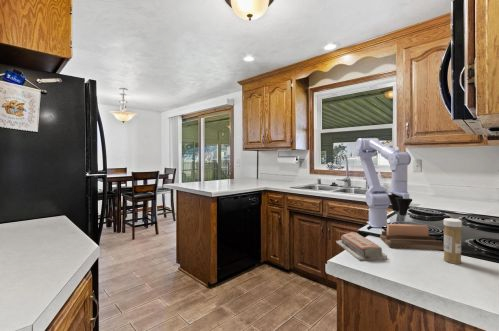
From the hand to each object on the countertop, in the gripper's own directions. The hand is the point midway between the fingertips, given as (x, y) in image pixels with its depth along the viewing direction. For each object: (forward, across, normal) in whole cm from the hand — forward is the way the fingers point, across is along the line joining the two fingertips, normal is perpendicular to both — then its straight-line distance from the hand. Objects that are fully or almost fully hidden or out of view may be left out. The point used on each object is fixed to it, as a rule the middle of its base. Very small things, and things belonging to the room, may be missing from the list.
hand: (399, 213), depth 107 cm
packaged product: (+10, +20, -20) cm, 30 cm away
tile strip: (+8, +8, 0) cm, 11 cm away
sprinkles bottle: (+10, +26, +6) cm, 28 cm away
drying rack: (+9, +10, 0) cm, 14 cm away
